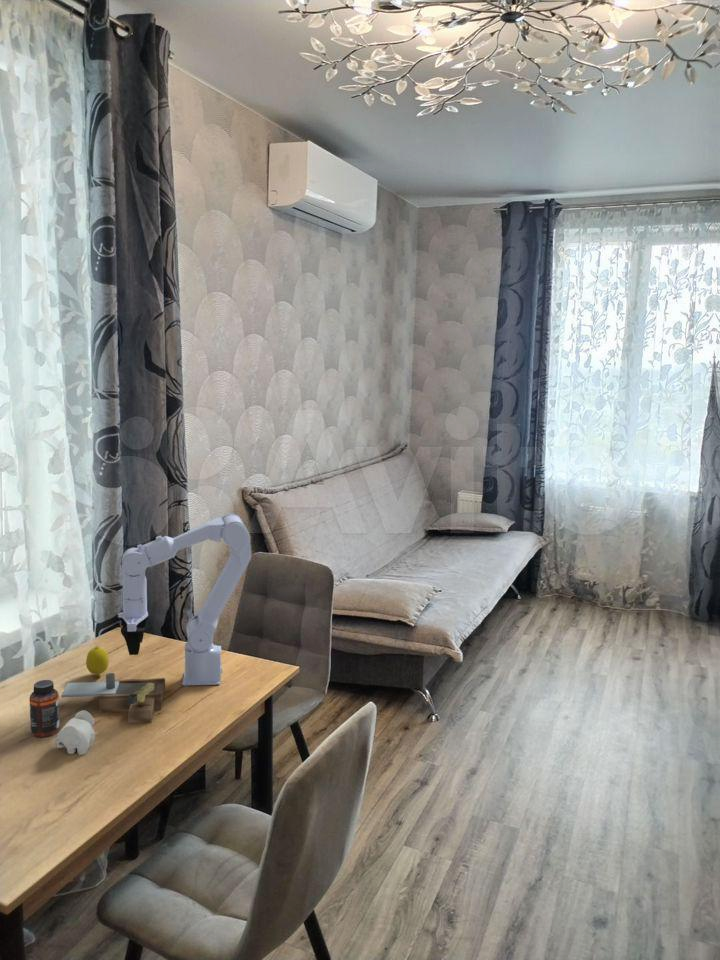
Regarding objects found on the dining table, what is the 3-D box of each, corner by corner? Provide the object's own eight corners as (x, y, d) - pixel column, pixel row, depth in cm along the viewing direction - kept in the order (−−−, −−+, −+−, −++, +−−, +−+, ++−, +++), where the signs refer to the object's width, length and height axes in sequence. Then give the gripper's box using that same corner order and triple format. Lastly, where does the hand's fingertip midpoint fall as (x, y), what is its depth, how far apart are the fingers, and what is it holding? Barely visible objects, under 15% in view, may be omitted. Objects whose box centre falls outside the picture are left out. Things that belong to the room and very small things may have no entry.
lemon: (104, 680, 188) (103, 651, 187) (83, 679, 188) (82, 650, 187) (112, 671, 193) (111, 642, 192) (91, 670, 193) (90, 641, 192)
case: (165, 690, 184) (165, 677, 183) (158, 722, 168) (158, 707, 168) (107, 692, 182) (106, 678, 181) (94, 724, 166) (94, 709, 165)
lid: (119, 683, 180) (118, 669, 179) (114, 695, 174) (114, 680, 173) (67, 685, 178) (67, 670, 177) (61, 697, 172) (61, 682, 171)
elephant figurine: (60, 738, 160) (59, 707, 159) (104, 740, 160) (103, 710, 158) (44, 757, 152) (43, 725, 151) (90, 759, 152) (89, 728, 151)
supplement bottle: (66, 728, 164) (64, 681, 162) (44, 740, 159) (42, 691, 157) (46, 722, 166) (44, 675, 164) (24, 733, 161) (22, 685, 159)
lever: (149, 696, 174) (148, 682, 173) (154, 698, 173) (154, 683, 172) (127, 711, 166) (127, 696, 165) (133, 713, 165) (132, 698, 165)
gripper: (122, 587, 189) (123, 637, 191) (113, 606, 175) (114, 660, 177) (150, 587, 190) (151, 636, 192) (144, 606, 176) (145, 659, 178)
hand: (135, 648), depth 185 cm, fingers open, 7 cm apart
